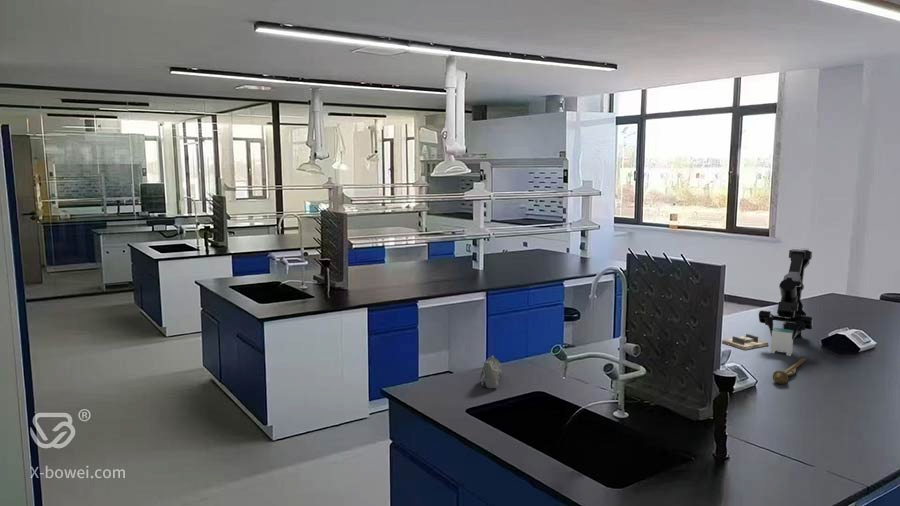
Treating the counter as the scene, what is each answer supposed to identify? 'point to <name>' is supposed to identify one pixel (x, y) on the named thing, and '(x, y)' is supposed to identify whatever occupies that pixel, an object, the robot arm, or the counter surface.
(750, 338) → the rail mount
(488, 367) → the mineral rock
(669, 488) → the counter surface
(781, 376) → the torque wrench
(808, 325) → the robot arm
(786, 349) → the panel
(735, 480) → the counter surface
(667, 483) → the counter surface
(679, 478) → the counter surface
